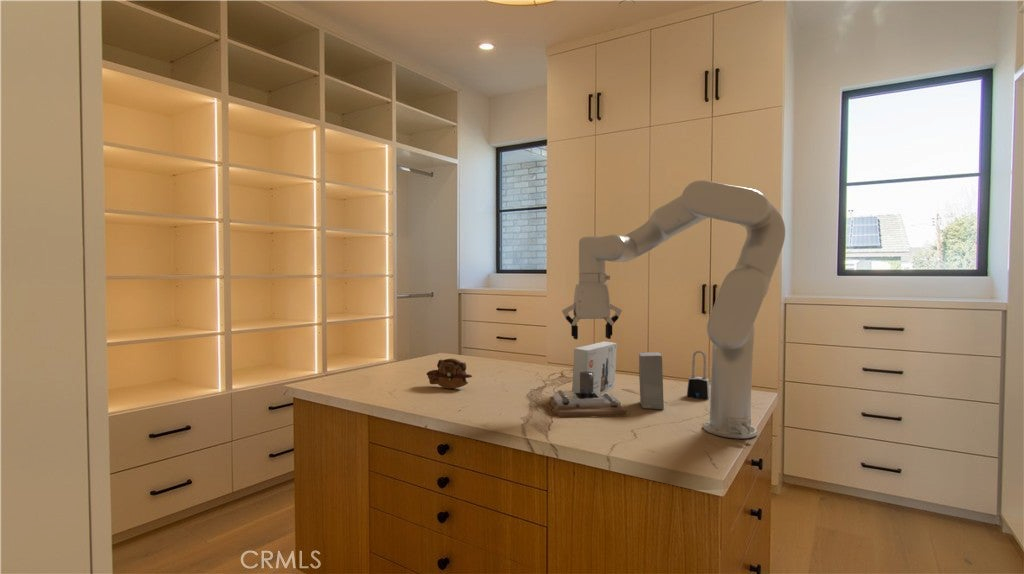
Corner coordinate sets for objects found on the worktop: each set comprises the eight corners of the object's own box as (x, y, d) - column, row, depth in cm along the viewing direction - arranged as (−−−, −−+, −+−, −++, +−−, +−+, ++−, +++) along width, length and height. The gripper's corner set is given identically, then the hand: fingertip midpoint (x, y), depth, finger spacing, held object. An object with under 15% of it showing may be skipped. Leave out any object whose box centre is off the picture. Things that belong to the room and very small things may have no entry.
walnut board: (626, 416, 142) (626, 410, 141) (558, 417, 140) (559, 411, 140) (610, 400, 157) (610, 395, 157) (549, 401, 156) (549, 396, 156)
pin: (594, 405, 147) (595, 374, 146) (580, 405, 146) (581, 374, 146) (591, 401, 151) (591, 371, 150) (578, 401, 150) (578, 371, 150)
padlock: (710, 397, 163) (711, 350, 162) (708, 400, 159) (709, 352, 159) (688, 394, 166) (689, 348, 166) (686, 397, 163) (687, 350, 162)
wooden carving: (423, 388, 171) (423, 358, 171) (429, 385, 176) (429, 356, 175) (469, 392, 167) (469, 361, 166) (474, 388, 171) (474, 359, 171)
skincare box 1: (586, 401, 157) (587, 350, 156) (571, 398, 160) (572, 348, 160) (616, 388, 174) (617, 342, 173) (602, 385, 177) (603, 340, 177)
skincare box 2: (664, 410, 147) (665, 356, 147) (638, 408, 149) (639, 355, 148) (661, 402, 156) (662, 351, 155) (637, 401, 157) (638, 350, 156)
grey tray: (621, 408, 145) (621, 397, 145) (558, 409, 143) (558, 398, 143) (612, 400, 154) (612, 389, 154) (553, 400, 152) (553, 390, 152)
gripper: (617, 279, 151) (617, 336, 152) (560, 279, 150) (560, 337, 150) (625, 279, 144) (624, 339, 144) (564, 280, 142) (564, 340, 143)
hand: (591, 338), depth 147 cm, fingers open, 9 cm apart
